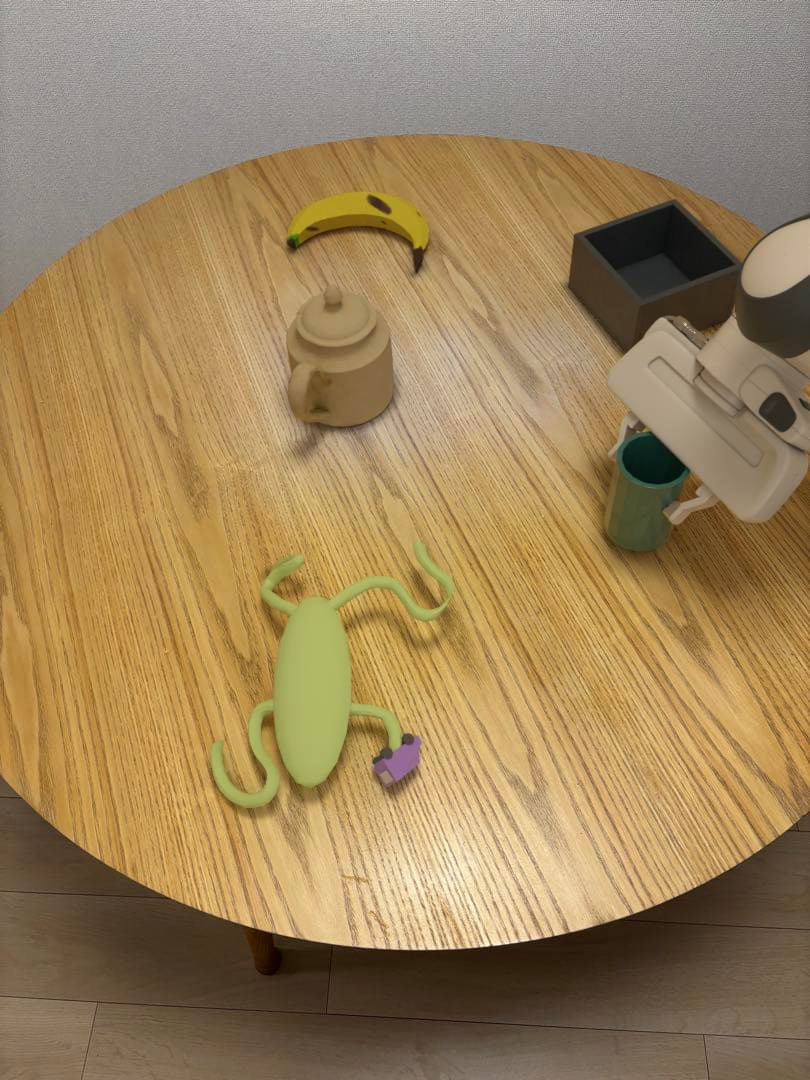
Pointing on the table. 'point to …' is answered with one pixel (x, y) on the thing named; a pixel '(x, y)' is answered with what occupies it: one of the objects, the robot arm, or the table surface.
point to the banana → (362, 218)
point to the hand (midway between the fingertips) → (641, 490)
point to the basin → (653, 272)
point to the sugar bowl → (339, 360)
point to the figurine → (322, 688)
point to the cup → (643, 492)
